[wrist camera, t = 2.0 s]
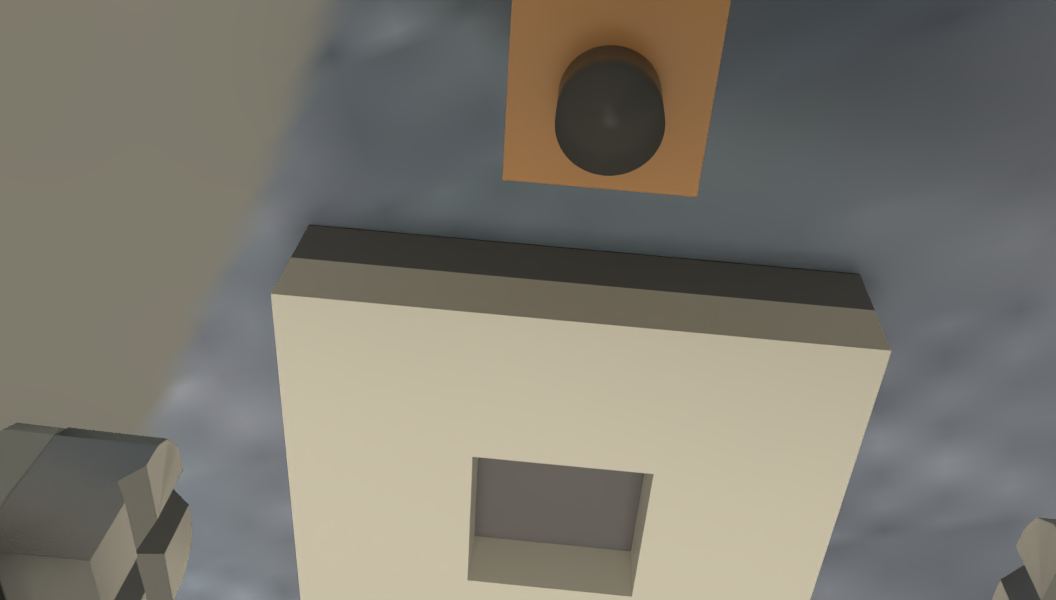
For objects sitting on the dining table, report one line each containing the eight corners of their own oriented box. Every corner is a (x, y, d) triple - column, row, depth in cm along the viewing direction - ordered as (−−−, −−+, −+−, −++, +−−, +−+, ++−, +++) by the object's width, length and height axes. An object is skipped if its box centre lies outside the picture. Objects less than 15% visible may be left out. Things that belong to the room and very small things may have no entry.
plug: (698, -89, 24) (740, 25, 16) (675, 65, 27) (702, 231, 19) (539, -102, 25) (505, 5, 17) (529, 53, 27) (495, 213, 19)
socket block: (859, 274, 30) (891, 350, 26) (759, 620, 38) (774, 710, 35) (308, 225, 30) (270, 293, 27) (333, 577, 39) (306, 662, 35)
